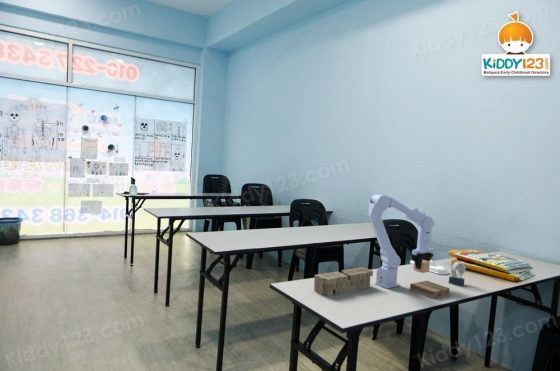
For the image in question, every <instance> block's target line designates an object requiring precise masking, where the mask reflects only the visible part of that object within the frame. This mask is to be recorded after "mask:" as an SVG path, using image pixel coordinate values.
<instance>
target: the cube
mask: <svg viewBox="0 0 560 371" xmlns="http://www.w3.org/2000/svg"><path fill="white" fill-rule="evenodd" d="M413 261H414V260H413ZM429 266H430V262H429V261H426V260H422V264H421V269H417V268H416V266H415V261H414V265H413V272H414V271H415V272H418V273H422V274H424V273H430V271H429Z"/></svg>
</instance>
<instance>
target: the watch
mask: <svg viewBox="0 0 560 371" xmlns="http://www.w3.org/2000/svg"><path fill="white" fill-rule="evenodd" d="M466 269H467V267H466V265H465V264H464V263H462V262H460V261H454V263H453V264H452V266H451V270H450V272H451V276H448V284H450V285H454V286H457V287H461V286H465V278H463V275H464V273H465V271H466ZM456 270H457V271H456ZM457 272H458V273H457Z"/></svg>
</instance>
